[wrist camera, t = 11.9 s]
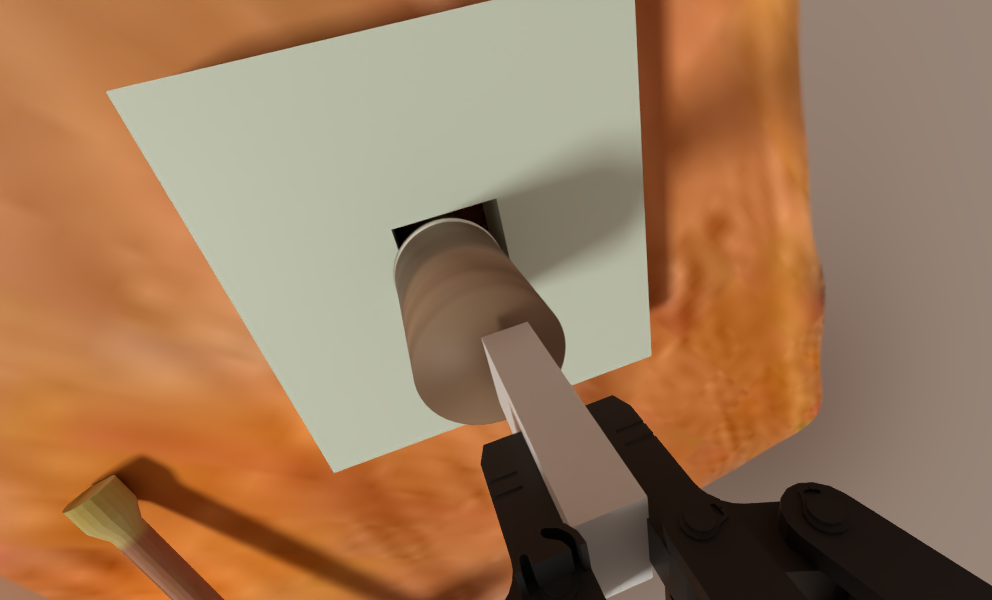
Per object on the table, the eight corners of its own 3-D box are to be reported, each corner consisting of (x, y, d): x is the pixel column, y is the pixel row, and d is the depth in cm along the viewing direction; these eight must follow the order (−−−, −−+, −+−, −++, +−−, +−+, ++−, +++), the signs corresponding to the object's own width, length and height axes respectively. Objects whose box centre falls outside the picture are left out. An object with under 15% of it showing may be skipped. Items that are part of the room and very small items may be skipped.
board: (151, 87, 19) (105, 91, 15) (588, -17, 21) (633, -34, 18) (336, 424, 29) (334, 473, 25) (618, 324, 31) (651, 355, 28)
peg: (373, 212, 23) (386, 324, 13) (469, 183, 24) (553, 267, 14) (405, 298, 26) (438, 446, 16) (491, 269, 27) (576, 393, 16)
